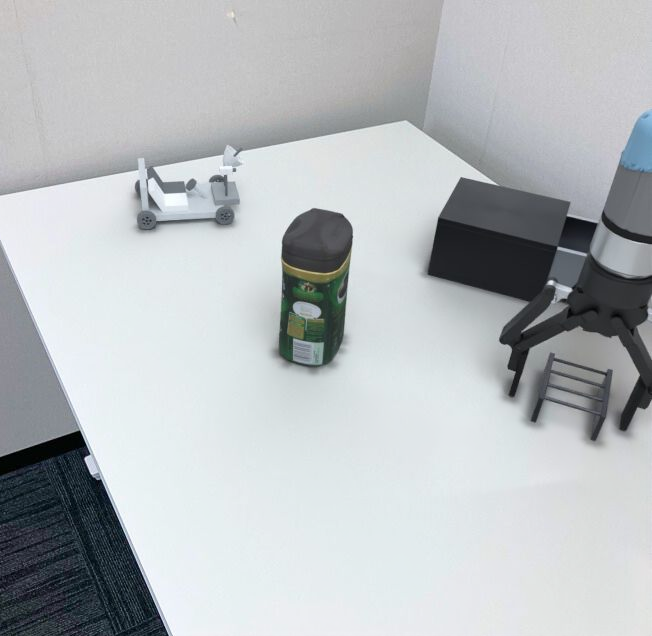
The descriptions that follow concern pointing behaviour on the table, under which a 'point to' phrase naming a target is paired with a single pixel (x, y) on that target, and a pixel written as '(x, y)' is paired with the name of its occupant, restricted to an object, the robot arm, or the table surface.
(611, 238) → the robot arm
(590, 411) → the rack
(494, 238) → the box
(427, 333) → the table surface
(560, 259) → the grey drawer
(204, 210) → the toy car
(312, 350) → the coffee jar
